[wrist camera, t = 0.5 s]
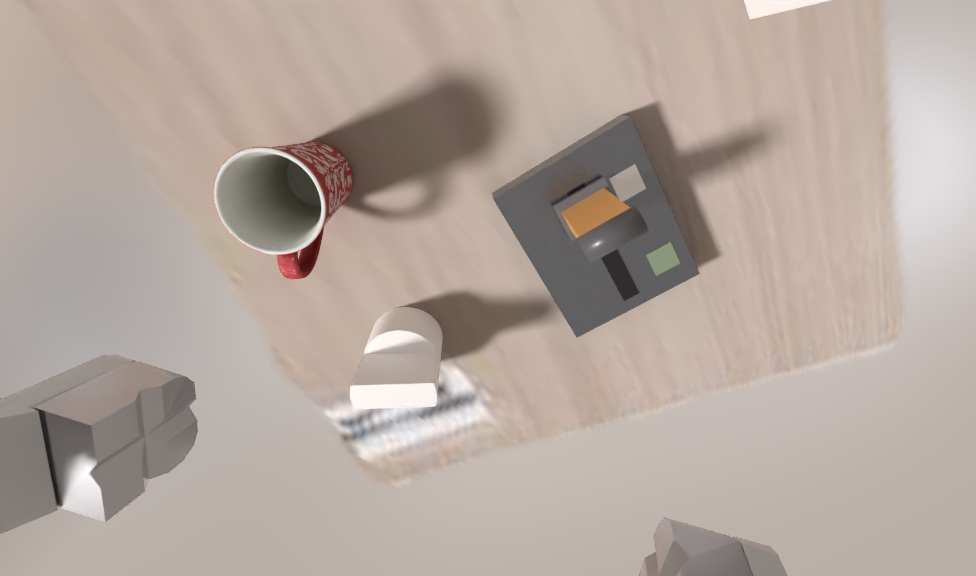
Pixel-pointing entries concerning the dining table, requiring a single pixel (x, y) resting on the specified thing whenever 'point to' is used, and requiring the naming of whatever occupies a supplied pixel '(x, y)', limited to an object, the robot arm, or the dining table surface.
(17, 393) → the robot arm
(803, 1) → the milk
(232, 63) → the dining table surface
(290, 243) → the mug
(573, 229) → the handle
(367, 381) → the cylinder with rectangular tab
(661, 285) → the grey slotted base
